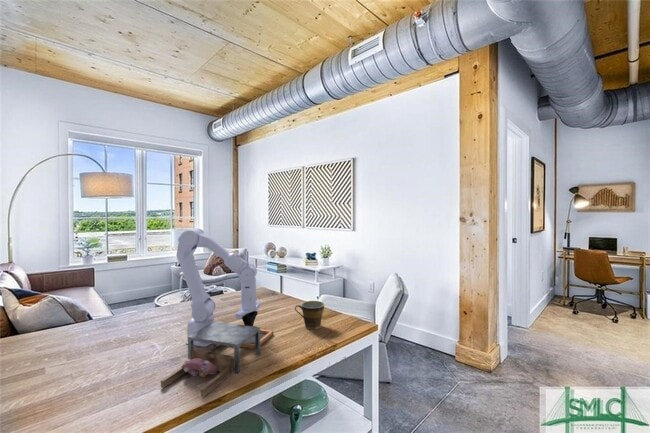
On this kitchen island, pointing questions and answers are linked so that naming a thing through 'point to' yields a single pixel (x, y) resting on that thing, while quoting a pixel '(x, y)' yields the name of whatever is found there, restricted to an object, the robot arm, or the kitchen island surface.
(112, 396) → the kitchen island surface
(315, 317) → the ceramic cup
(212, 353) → the mallet
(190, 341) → the small grey table
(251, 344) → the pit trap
